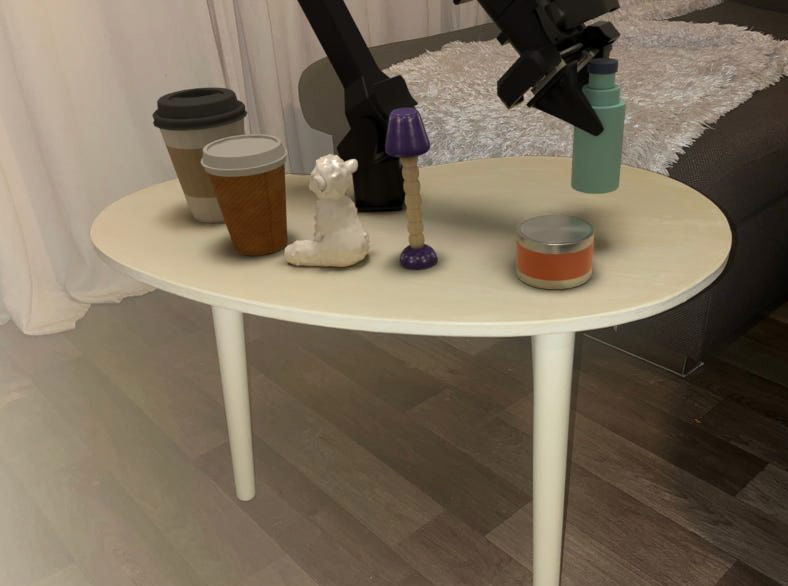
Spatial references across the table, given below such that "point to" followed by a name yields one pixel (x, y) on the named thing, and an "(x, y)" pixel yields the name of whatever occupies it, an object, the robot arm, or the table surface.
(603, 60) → the bottle
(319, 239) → the white creature statuette
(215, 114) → the coffee cup
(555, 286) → the can
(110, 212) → the table surface
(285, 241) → the disposable coffee cup
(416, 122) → the toy lamp
